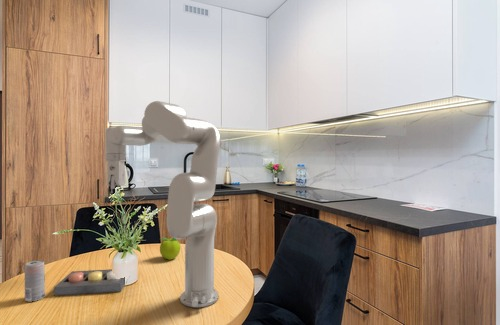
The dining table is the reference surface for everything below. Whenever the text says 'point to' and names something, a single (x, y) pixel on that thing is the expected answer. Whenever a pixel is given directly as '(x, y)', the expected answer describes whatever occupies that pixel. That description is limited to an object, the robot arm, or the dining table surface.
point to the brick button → (76, 277)
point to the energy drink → (34, 280)
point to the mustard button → (95, 276)
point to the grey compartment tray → (89, 285)
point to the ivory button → (111, 275)
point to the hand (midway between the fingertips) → (116, 202)
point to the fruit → (169, 248)
